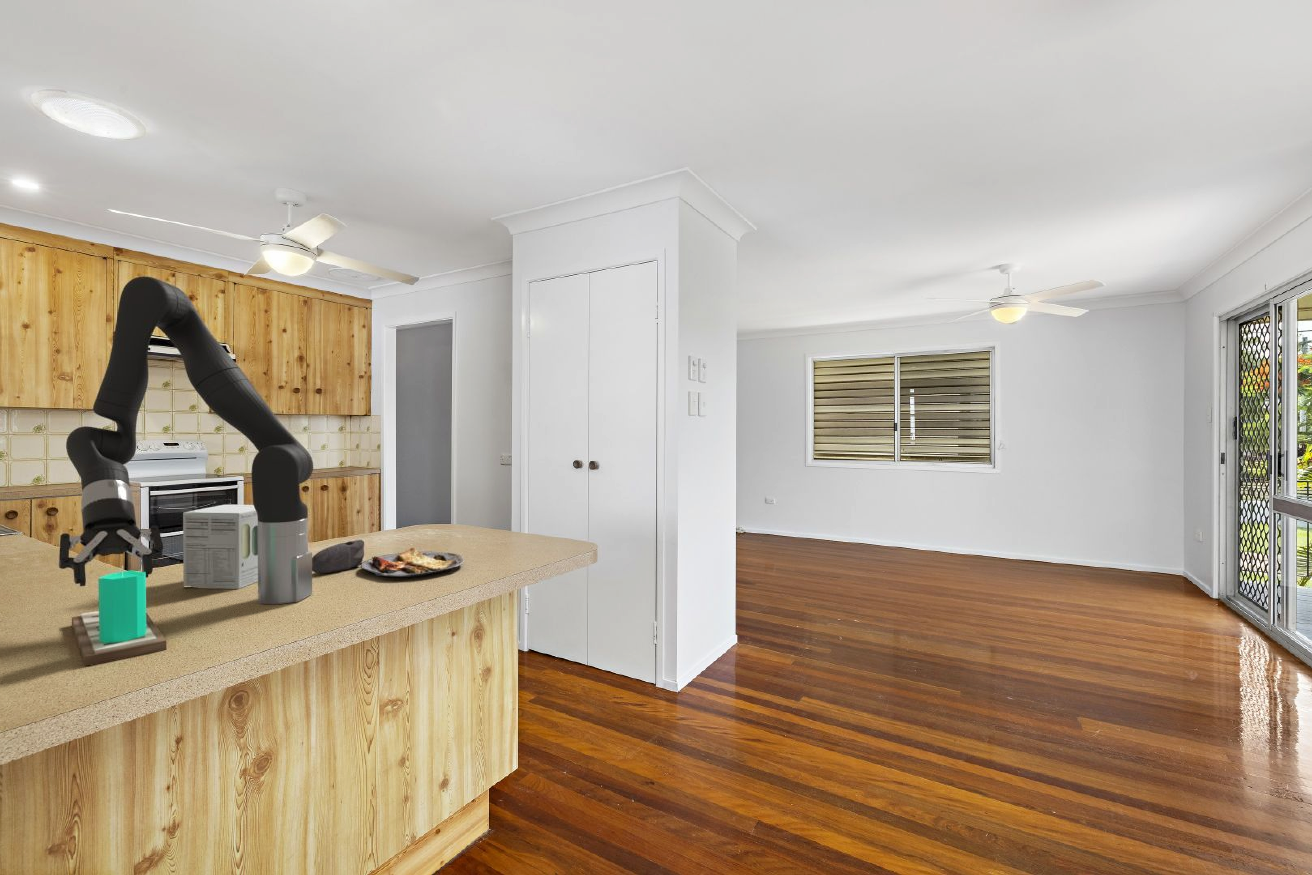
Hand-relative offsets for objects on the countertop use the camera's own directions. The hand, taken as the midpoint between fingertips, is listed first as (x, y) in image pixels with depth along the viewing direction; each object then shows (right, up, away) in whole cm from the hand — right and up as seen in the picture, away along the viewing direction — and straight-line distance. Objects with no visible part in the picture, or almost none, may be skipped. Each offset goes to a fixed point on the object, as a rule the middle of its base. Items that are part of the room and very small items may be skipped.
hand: (115, 579), depth 110 cm
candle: (+8, -8, -7) cm, 13 cm away
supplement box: (-4, -9, +35) cm, 37 cm away
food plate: (+34, -9, +50) cm, 61 cm away
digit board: (+2, -10, -2) cm, 10 cm away
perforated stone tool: (+16, -9, +47) cm, 50 cm away
